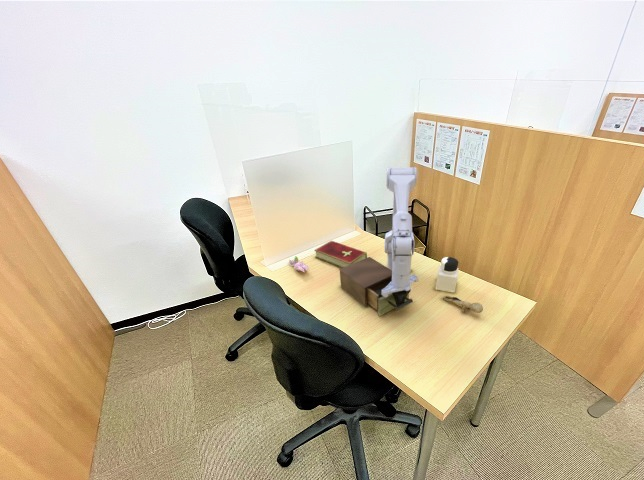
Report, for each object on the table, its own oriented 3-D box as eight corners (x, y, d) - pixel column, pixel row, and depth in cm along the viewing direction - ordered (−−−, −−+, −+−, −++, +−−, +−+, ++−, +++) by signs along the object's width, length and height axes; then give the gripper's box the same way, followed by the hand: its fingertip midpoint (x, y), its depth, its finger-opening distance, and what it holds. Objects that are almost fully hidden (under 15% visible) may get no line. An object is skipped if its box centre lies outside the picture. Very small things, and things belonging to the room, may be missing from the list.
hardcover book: (332, 247, 142) (331, 239, 139) (366, 259, 131) (366, 251, 128) (315, 257, 134) (314, 249, 132) (350, 271, 123) (349, 263, 121)
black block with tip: (394, 294, 106) (394, 286, 104) (396, 298, 104) (397, 291, 102) (373, 298, 104) (373, 290, 102) (376, 303, 102) (376, 295, 100)
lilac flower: (287, 267, 130) (299, 277, 118) (283, 255, 127) (296, 264, 116) (299, 262, 133) (313, 272, 121) (296, 250, 130) (310, 259, 119)
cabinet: (395, 291, 110) (396, 273, 106) (365, 307, 104) (364, 287, 99) (369, 274, 121) (369, 256, 116) (340, 287, 114) (339, 269, 109)
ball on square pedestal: (455, 282, 114) (460, 256, 107) (454, 293, 109) (459, 266, 102) (437, 279, 116) (441, 253, 109) (435, 289, 111) (439, 263, 104)
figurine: (441, 305, 106) (479, 318, 95) (441, 294, 104) (479, 307, 93) (448, 301, 108) (485, 314, 97) (447, 290, 106) (485, 302, 95)
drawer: (418, 307, 101) (420, 291, 97) (389, 323, 95) (390, 307, 91) (382, 282, 114) (382, 268, 110) (355, 295, 108) (354, 280, 104)
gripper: (392, 285, 85) (391, 320, 92) (426, 268, 92) (422, 302, 99) (377, 275, 89) (377, 309, 97) (410, 260, 96) (407, 293, 104)
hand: (399, 305), depth 98 cm, fingers closed, pressing on drawer
